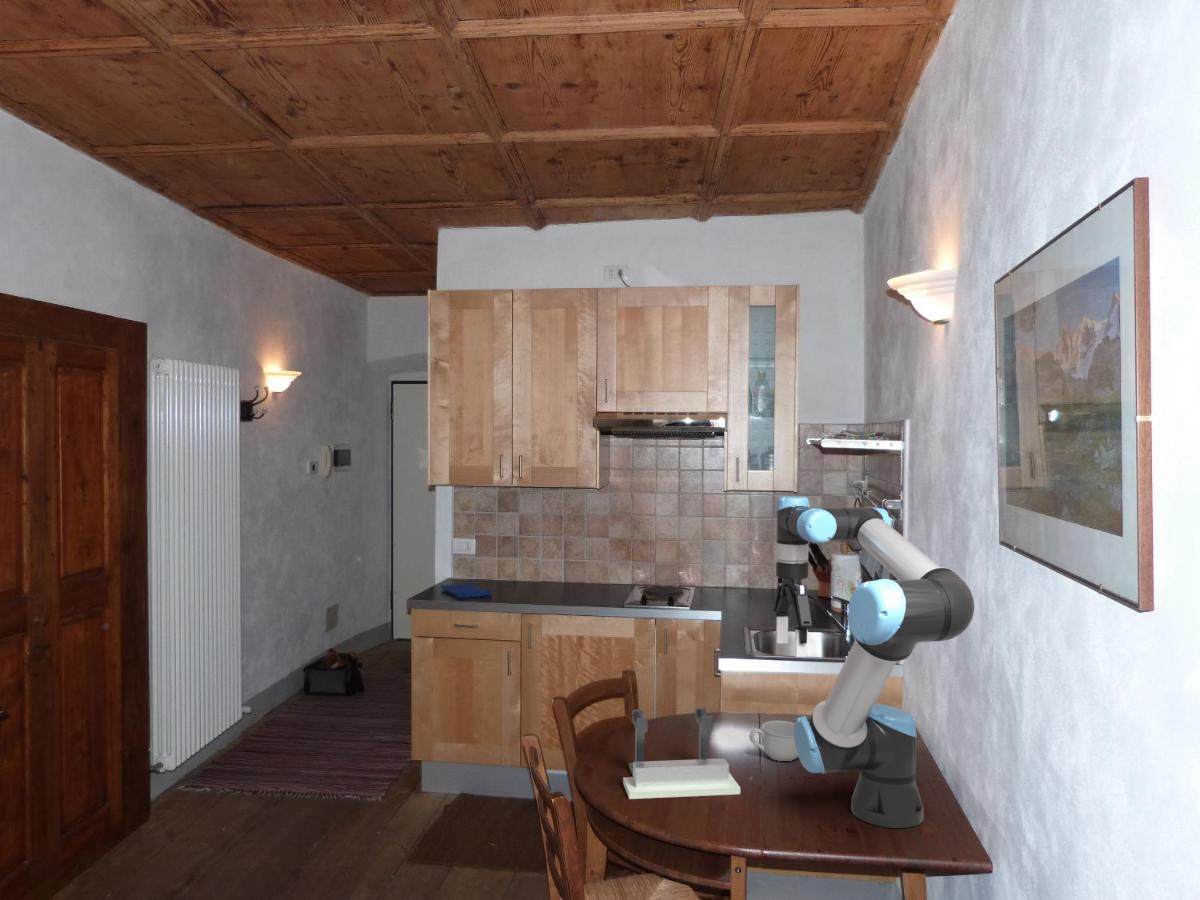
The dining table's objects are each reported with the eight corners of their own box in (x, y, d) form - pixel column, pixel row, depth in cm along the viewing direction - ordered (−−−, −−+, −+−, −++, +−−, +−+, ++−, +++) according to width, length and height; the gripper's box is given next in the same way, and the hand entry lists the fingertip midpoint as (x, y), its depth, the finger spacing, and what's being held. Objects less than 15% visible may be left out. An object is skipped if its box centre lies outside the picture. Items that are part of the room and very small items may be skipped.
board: (740, 794, 205) (740, 787, 205) (629, 799, 201) (629, 792, 201) (729, 779, 214) (729, 773, 213) (623, 783, 210) (623, 777, 210)
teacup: (801, 751, 233) (801, 721, 233) (806, 766, 222) (807, 734, 222) (747, 749, 235) (747, 719, 234) (750, 764, 224) (750, 732, 224)
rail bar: (728, 783, 207) (728, 764, 207) (635, 787, 204) (636, 768, 204) (724, 777, 211) (724, 758, 211) (633, 780, 208) (633, 761, 208)
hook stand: (715, 776, 215) (716, 717, 215) (634, 779, 213) (634, 719, 212) (707, 764, 223) (707, 707, 223) (628, 767, 221) (629, 709, 220)
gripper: (827, 568, 200) (826, 662, 200) (789, 554, 224) (788, 637, 225) (795, 568, 199) (794, 663, 199) (761, 554, 224) (760, 638, 224)
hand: (791, 649), depth 212 cm, fingers open, 13 cm apart
